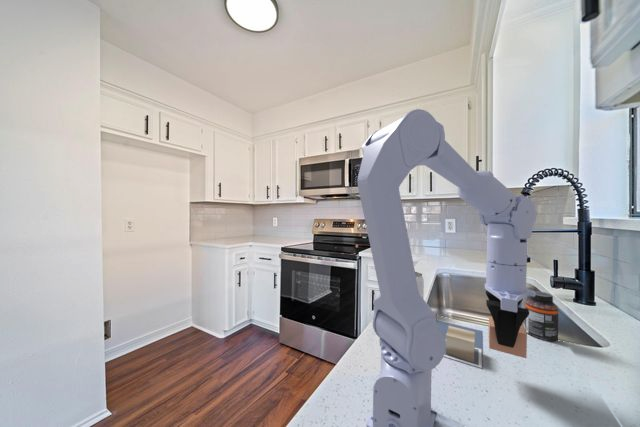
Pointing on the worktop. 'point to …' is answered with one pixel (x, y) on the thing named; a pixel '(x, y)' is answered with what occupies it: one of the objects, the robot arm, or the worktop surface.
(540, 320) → the supplement bottle
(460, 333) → the cream block
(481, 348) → the board
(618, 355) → the worktop surface
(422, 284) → the can
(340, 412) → the worktop surface
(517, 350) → the terracotta block
